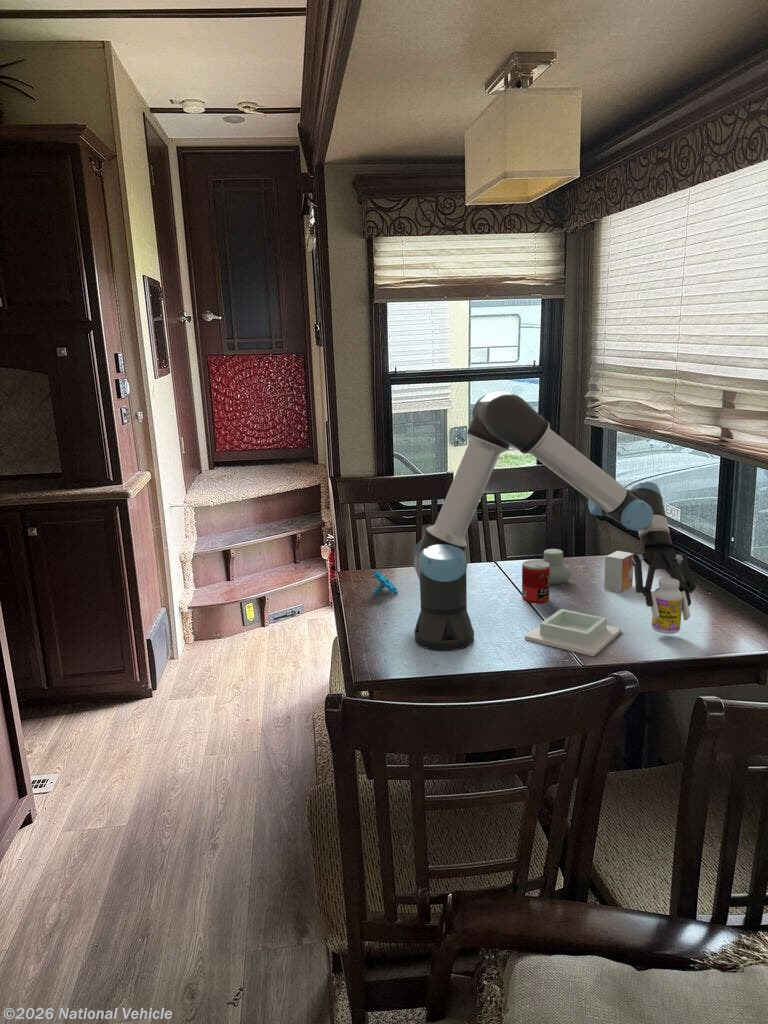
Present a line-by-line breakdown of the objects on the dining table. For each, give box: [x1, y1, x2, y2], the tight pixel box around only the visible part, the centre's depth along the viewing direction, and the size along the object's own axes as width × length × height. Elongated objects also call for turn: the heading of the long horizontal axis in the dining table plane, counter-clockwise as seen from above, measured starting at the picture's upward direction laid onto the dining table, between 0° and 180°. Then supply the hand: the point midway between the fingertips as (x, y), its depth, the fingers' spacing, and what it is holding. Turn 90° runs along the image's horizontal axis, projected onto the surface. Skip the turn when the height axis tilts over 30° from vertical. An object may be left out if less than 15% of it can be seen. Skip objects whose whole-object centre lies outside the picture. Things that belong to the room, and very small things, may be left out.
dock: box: [524, 608, 622, 657], centre depth 174 cm, size 18×18×4 cm
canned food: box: [521, 559, 551, 605], centre depth 200 cm, size 8×8×11 cm
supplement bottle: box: [651, 577, 683, 635], centre depth 170 cm, size 7×7×13 cm
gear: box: [372, 569, 399, 596], centre depth 211 cm, size 11×6×10 cm
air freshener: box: [543, 548, 572, 585], centre depth 216 cm, size 11×8×10 cm
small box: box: [603, 550, 635, 593], centre depth 208 cm, size 8×6×10 cm
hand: (671, 617), depth 167 cm, fingers closed on supplement bottle, 7 cm apart
